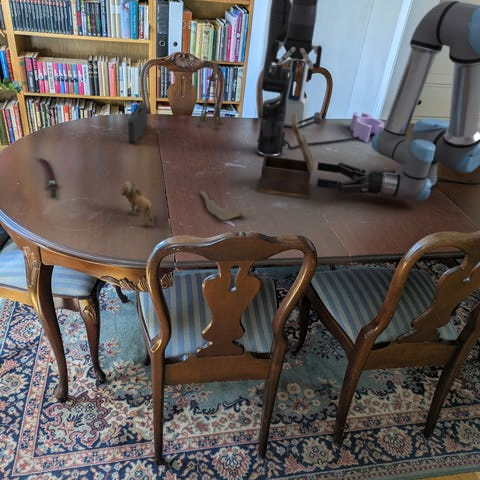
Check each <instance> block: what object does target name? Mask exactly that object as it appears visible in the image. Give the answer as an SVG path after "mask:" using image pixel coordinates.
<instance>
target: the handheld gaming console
mask: <svg viewBox="0 0 480 480" xmlns="http://www.w3.org/2000/svg"><path fill="white" fill-rule="evenodd" d="M147 111H148V110H147V103H146V102H139V103H138V105H136V107H135V109H134V110H133V112H132V113H131V114H130V116H129V117H128V120H127V131H128V142H129V144H136V143H137V142H138V140H139V139H140V137H141V135H142V134H143V132H144V130H145V129H146V127H147V123H148V119H147V118H148V117H147V115H148V114H147V113H148V112H147Z"/></svg>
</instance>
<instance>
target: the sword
mask: <svg viewBox="0 0 480 480" xmlns="http://www.w3.org/2000/svg"><path fill="white" fill-rule="evenodd" d="M40 161H41V162H42V163H43V165H44V166H45V169H46V173H47V176H48V185H47V188H50V198H56V197H57V189H56V188H57V187H59V185H58V184H57V183H56V180H55V176H54V172H53V169H52V167H51V164H50V163H49V161H48V160H46V159H43V158H40Z"/></svg>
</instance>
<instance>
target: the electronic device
mask: <svg viewBox="0 0 480 480" xmlns="http://www.w3.org/2000/svg"><path fill="white" fill-rule="evenodd" d="M298 62H299V63H303V67H302V73H301V79H300V85H299V92H298V95H293V92H294V84H295V78H296V77H295V76H296V70H297V64H298ZM289 68H290V69H291V70H292V80H291V85H290V90H289V95H288V101H287V109H286V116H285V123H284V127H287V128H292V125H291V123H292V115H293V114H295V113H296V115H297V117H298V120H299V121H302V120H304V119H307V108H308V100H307V99H306V97H305V91H306V86H307V82H306V78H307V72H308V68H309V66H308V65H307V63H306V61H305V59H302V60H299V59H291V61H290V67H289ZM306 123H307V121H306V122H304V123H301V124H300V125H304V124H306Z"/></svg>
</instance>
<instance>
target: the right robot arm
mask: <svg viewBox="0 0 480 480" xmlns="http://www.w3.org/2000/svg"><path fill="white" fill-rule="evenodd" d="M444 46H446V47H448V48H449V51H448V59H449V61H451V63H453V72H452V73H453V74H452V83H451V97H450V108H449V120H445V119H442V118H441V119H440V118H432V117H431V118H429V117H428V118H425V117H424V118H420V119H418V120H416V122H415V124H414V127H413V128H412V131H411V136H410V139H409V140H407V139H406V136H407V133H408V130H409V128H410V125H411V122H412V119H413V117H414V115H415V112H416V109H417V107H418V104H419V101H420V99H421V96H422V93H423V90H424V88H425V85H426V83H427V80H428V78H429V74H430V72H431V69H432V67H433V64H434V61H435V59H436V56H437V55H438V54H440V53H442V49H443V47H444ZM409 47H410V51H409V54H408V58H407V60H406V63H405V66H404V69H403V72H402V75H401V78H400V81H399V82H398V86H397V89H396V92H395V95H394V98H393V101H392V104H391V106H390V110H389V112H388V115H387V118H386V121H385V123H384V129H383V130H379V131H378V132H376V133H375V135H372V138H371V143H370V145H371V148H372V149H373V151H375V152H377V153H378V154H379V155H382V156H384V157H386V158H388V159H390V160H393V161H394V162H396V163H398V164H399V165H398V166H397V168H396V169H395V171H394V172H395V173H393V172H387V171H386V172H382V171H378V170H371V171H370V172H369V174H367V170H366V169H364V168H358V167H356V166H353V165H350V164H347V163H343V162H338V163H337V164H334V163H327V162H321V161H318V162H317V167H316V171H319V172H320V171H321V172H328V173H333V174H334V173H335V174H341V175H343V176H344V177H347V178H349V180H346V181H340V180H333V179H325V178H320V177H318V178H317V182H316V188H322V189H328V190H335V191H337V192H338V193H339V194H340V195H347V194H348V195H349V194H373V195H380V196H385V197H393V198H400V199H406V200H409V201H421V202H422V201H426V200H427V199H428V197H430V193H431V190H432V189H431V188H433V187H435V186H436V185H437V181H438V179H439V180H445V181H447V182H448V181H449V182H453V183H460V184H467V185H468V184H469V185H470V184H471V185H473V184H474V185H475V184H480V181H479V182H465V181H466V180H463V181H462V179H455V178H450V177H446V176H441V175H438V163H440V164H442V165H444V166H446V167H448V168H450V169H452V170H454V171H456V172H459V173H462V174H469V173H472V172H473V171H475V170H476V169H478V168H479V166H480V127H479V119H480V4H474V3H468V2H464V1H459V0H445V1H442V2H440V3H438V4H436V5H435V6H433V7H432V8H431V9H429V11H427V12H426V14H425V15H424V16H423V17H422V18H421V20H420V21H419V22H418V24H417V26H416V27H415V29H414V32H413V34H412V36H411V39H410V42H409ZM459 180H461V181H459Z"/></svg>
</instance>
